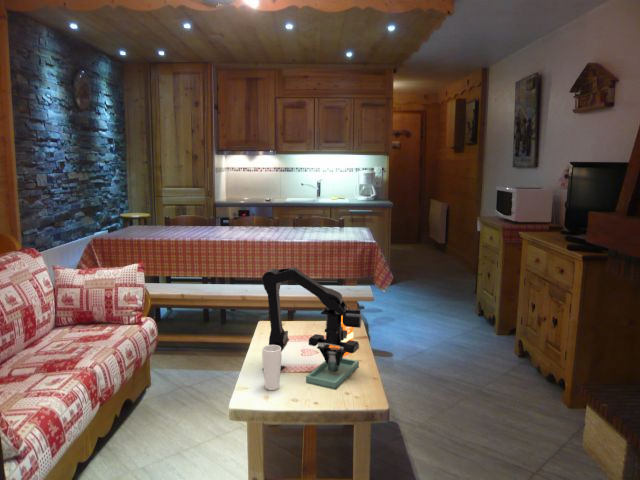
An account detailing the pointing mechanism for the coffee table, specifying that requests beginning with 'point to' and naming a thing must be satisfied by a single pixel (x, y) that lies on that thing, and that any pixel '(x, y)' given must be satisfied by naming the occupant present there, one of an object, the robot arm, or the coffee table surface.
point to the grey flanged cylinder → (332, 359)
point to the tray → (332, 374)
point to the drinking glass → (271, 366)
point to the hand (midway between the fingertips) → (333, 364)
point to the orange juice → (349, 334)
